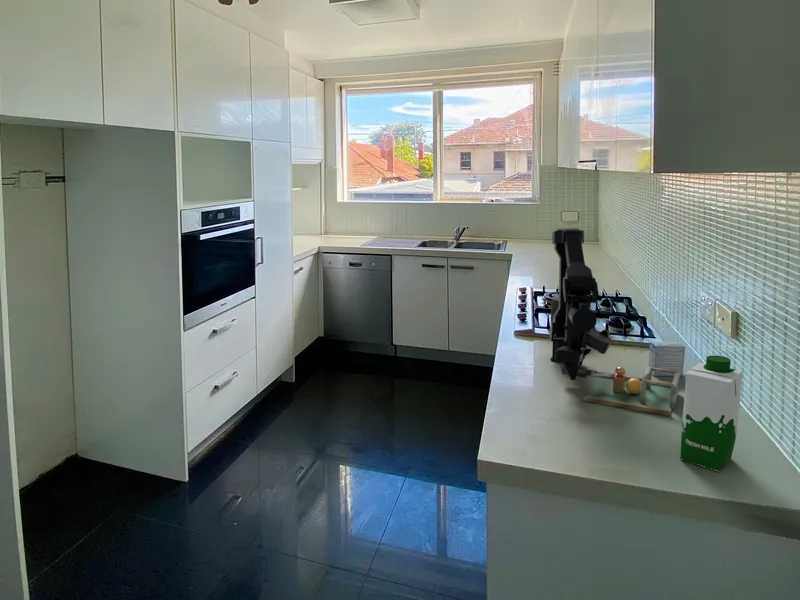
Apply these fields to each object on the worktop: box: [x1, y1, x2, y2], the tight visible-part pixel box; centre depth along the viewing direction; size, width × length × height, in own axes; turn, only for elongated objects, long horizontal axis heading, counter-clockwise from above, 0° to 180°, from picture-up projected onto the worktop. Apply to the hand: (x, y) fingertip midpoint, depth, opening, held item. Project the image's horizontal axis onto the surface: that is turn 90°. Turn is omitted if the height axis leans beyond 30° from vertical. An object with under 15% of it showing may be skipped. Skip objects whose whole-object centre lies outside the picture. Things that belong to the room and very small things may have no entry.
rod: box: [561, 363, 627, 393], centre depth 144 cm, size 15×4×6 cm, turn 59°
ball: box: [626, 378, 641, 394], centre depth 139 cm, size 4×4×4 cm
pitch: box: [584, 366, 681, 417], centre depth 139 cm, size 20×20×6 cm
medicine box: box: [648, 341, 686, 377], centre depth 153 cm, size 8×4×9 cm, turn 84°
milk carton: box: [679, 355, 744, 472], centre depth 105 cm, size 9×9×20 cm
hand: (574, 378), depth 146 cm, fingers closed on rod, 3 cm apart
